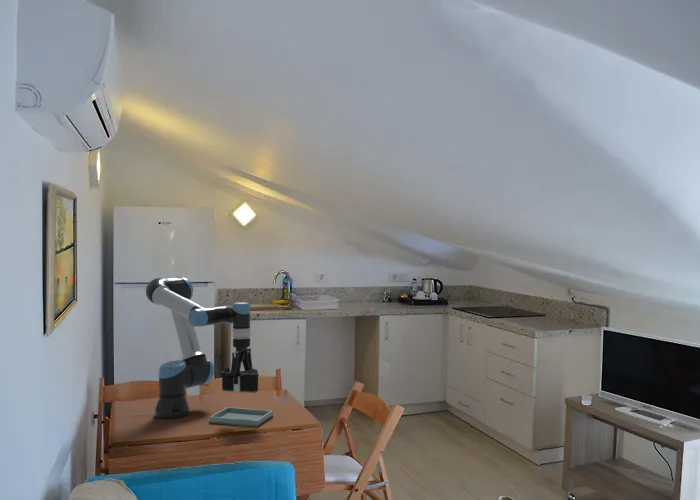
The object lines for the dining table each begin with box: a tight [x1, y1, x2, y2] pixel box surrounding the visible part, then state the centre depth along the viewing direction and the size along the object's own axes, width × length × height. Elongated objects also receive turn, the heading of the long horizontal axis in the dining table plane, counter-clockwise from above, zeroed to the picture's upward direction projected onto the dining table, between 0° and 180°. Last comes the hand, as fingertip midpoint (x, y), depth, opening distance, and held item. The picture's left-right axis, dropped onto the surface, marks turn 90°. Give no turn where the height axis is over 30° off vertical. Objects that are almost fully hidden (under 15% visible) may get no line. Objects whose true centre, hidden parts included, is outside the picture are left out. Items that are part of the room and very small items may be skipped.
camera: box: [221, 367, 260, 394], centre depth 259 cm, size 18×9×10 cm, turn 75°
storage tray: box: [208, 406, 274, 428], centre depth 259 cm, size 23×17×2 cm
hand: (241, 388), depth 259 cm, fingers closed on camera, 9 cm apart
